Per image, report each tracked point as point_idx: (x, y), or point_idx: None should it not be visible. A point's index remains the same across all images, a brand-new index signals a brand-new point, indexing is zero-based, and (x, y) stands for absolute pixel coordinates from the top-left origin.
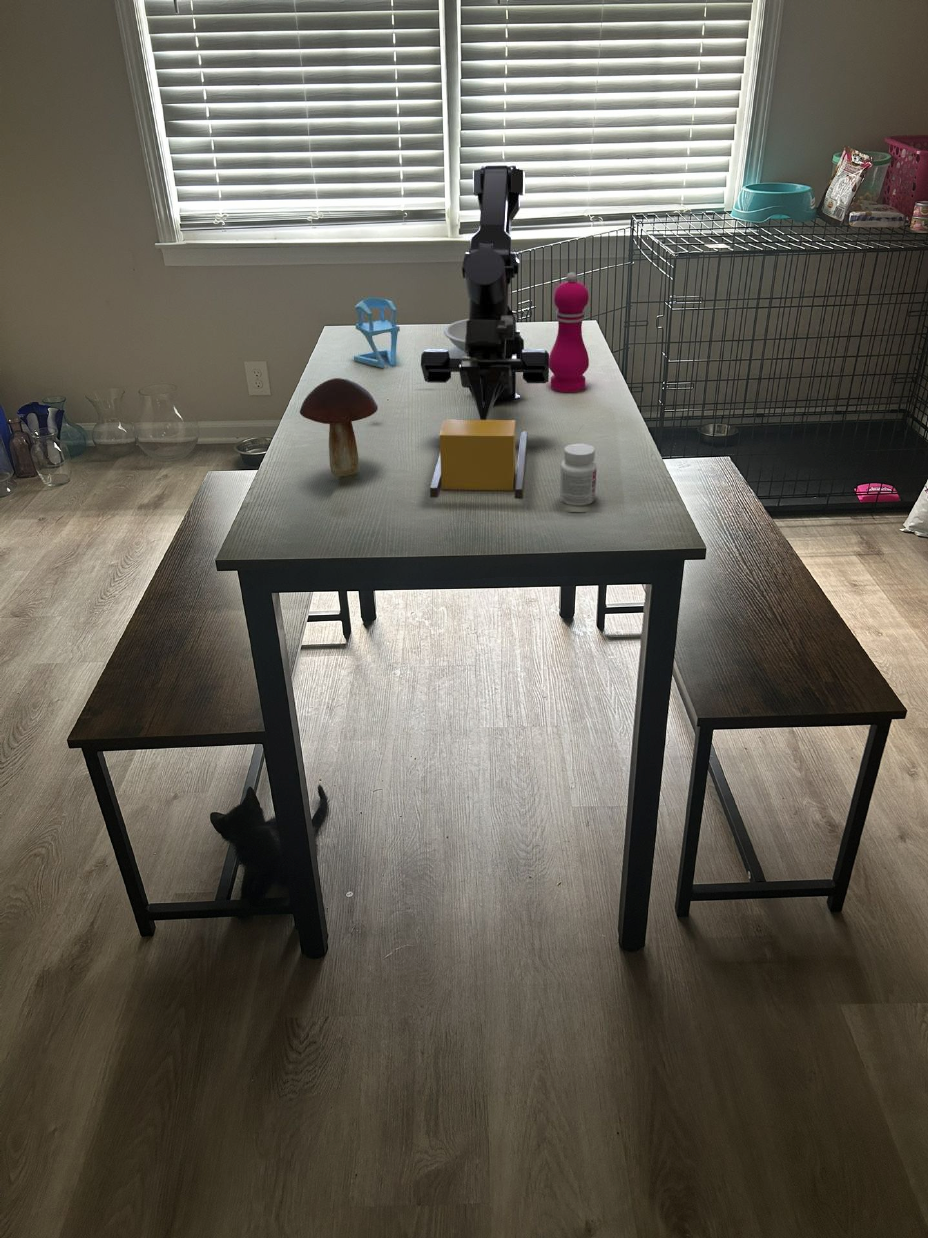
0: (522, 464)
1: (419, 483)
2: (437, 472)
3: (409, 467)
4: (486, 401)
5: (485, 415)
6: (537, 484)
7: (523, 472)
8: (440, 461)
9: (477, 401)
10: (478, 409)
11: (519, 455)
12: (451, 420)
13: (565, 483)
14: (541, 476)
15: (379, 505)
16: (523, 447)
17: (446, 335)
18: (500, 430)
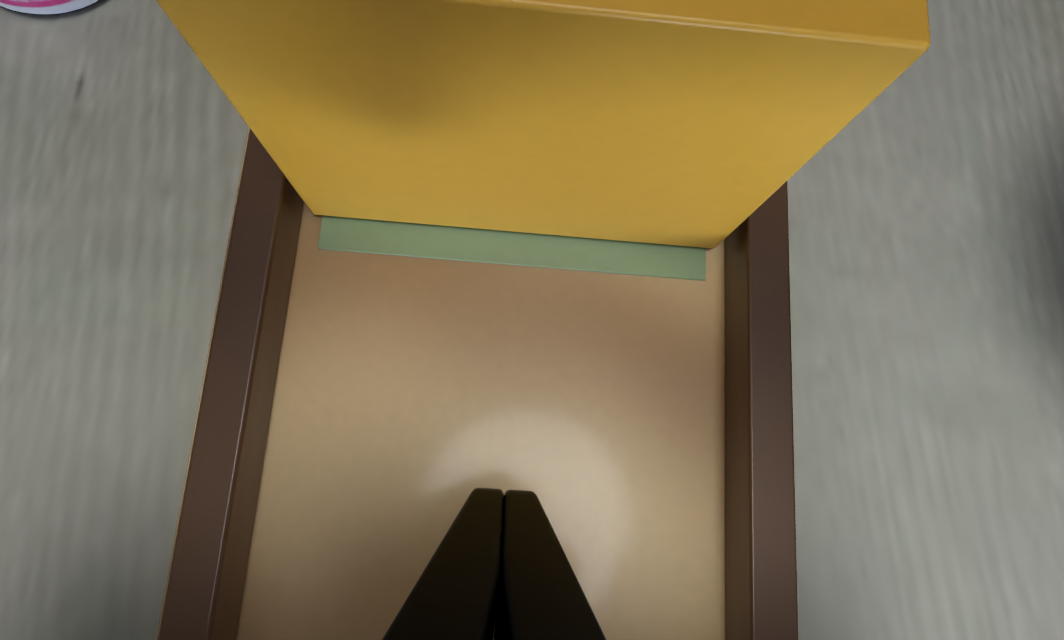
0: (249, 197)
1: (832, 249)
2: None
3: (925, 465)
4: (453, 632)
5: (476, 502)
6: (207, 207)
7: None
8: (772, 269)
9: (588, 637)
10: (562, 555)
11: (250, 349)
12: (850, 9)
13: None
14: (167, 310)
15: (967, 28)
16: (201, 496)
17: None
18: None
